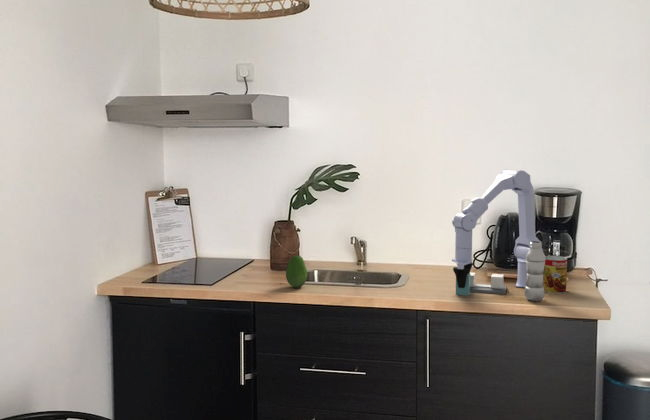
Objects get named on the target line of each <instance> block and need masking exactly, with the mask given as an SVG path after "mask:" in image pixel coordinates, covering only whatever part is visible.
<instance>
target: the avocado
mask: <svg viewBox="0 0 650 420" xmlns="http://www.w3.org/2000/svg"><path fill="white" fill-rule="evenodd" d="M307 277H308V270H307V266H306V264H305V261H304V259H303V257H302V256H301V255H294V256H293V257H292V258H291V259H290V261H288V265H287V268H286V270H285V279H286V281H287V282H288V284H289V285H290V286H291V287H293V288H296V289H297V288H301V287H303V286H304V285H305V283H306V282H307Z"/></svg>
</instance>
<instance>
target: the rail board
mask: <svg viewBox="0 0 650 420" xmlns="http://www.w3.org/2000/svg"><path fill="white" fill-rule="evenodd" d="M470 274H471V275H470V293H471V292H472V293H482V294H484V293H485V294H497V295H505V294H506V291H507V288H508V287H507V285H504V279H505V278H504V277H505V276H504V273H503V274H499V273H492V274H491V276H490V284H488V283H487V284H486V283H477V282H476V272H471V271H470Z"/></svg>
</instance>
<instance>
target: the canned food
mask: <svg viewBox="0 0 650 420" xmlns="http://www.w3.org/2000/svg"><path fill="white" fill-rule="evenodd" d="M545 258H546V260H545V266H544V273H543V285H544V292H545V293H549V294H565V293H566V292H567V275H568V273H567V272H568V269H567V268H568V257H565V256H560V255H545Z"/></svg>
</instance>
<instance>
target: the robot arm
mask: <svg viewBox="0 0 650 420" xmlns="http://www.w3.org/2000/svg"><path fill="white" fill-rule="evenodd" d="M507 190H511V191H512V192H513V193H516V194H517V205H518V206H517V208H518V228H519V229H518V231H519V236H518V237H517V238H516V239H515V245H514V248H513V255H514V256H515V258H516V261H517V280H516V284H515V288H525V286H526V280H527V266H526V255H527V253H528V252H529V250H530V249H531V247H530V242H531V241H540V239H539V238H538V237H537V236H536V223H535V221H536V220H535V219H536V217H535V199H534V198H535V197H534V196H535V194H534V187H533V184H532V181H531V175H530V174H529V173H528V172H527V171H525V170H514V169H513V170H512V169H503V170H501V171H500V172H499V174H497V175H496V177H495V180H494V181H493V183H492V184H491V185H490V186H489V187H488V189H486V191H485V192H484V193H483V194H482V196H480V197H475V198H472V199H471V202H470V203H469V205H467V206H466V207H465V208H464V209H462V211H461V212H460V213H459V212H457V214H455V216H454V217H453V220H452V221H451V224H452V227H454V232H455V246H454V247H455V249H454V251H455V252H454V253H455V254H454V255H455V256H454V258H452V259H451V262H454V263H456V266H457V267H456V266H453V268H452V270H453V273H454V275H455V279H456V278H457V284H458V288H465V284H466V279H467V275H468V273H469V274H470V272H471V271H472V267H473V266H474V262H473V230H474V229H475V228H476V227H477V222H478V220H479V219H480V218H481V217H482V216H483V215H484V214H485V213H486V212H487V210H488V209H489V204H490V203H491V202H492V201H494V200H495V198H496V197H498V196H499V195H500V194H501V193H502V192H503V191H507ZM541 250H542V251H543V252H544V250H543V248H541Z"/></svg>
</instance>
